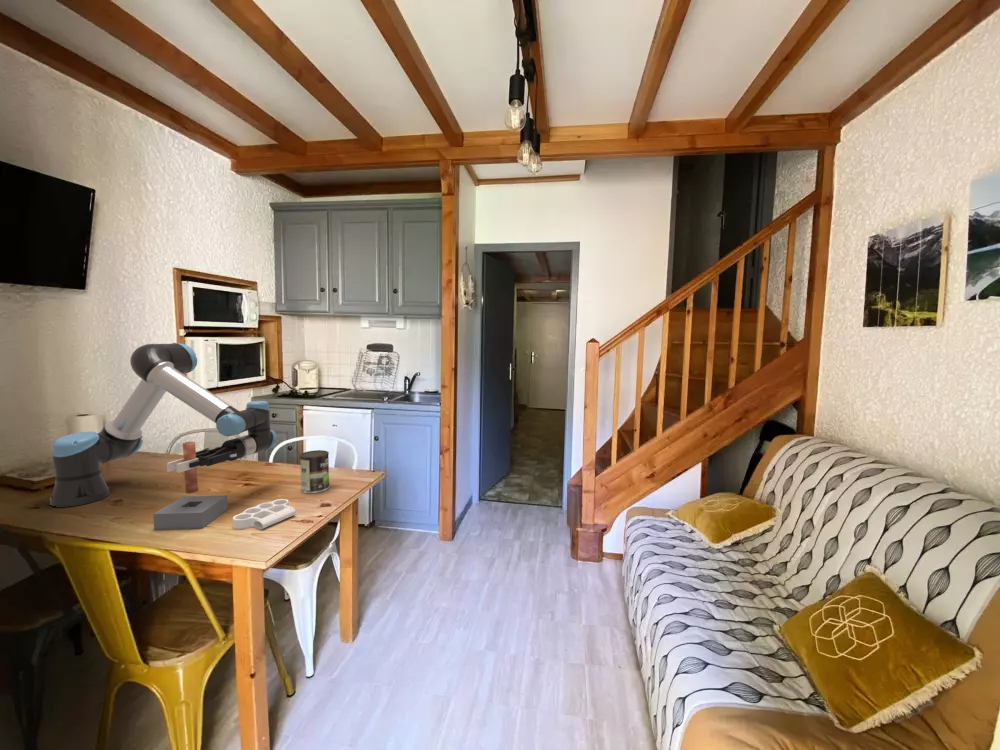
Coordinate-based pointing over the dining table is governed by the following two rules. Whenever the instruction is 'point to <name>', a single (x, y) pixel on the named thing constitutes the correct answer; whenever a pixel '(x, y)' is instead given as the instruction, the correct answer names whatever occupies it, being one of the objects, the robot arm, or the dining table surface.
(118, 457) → the robot arm
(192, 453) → the dowel
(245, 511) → the knuckle duster
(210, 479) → the dining table surface
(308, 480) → the coffee can
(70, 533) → the dining table surface
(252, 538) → the dining table surface
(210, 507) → the socket block
